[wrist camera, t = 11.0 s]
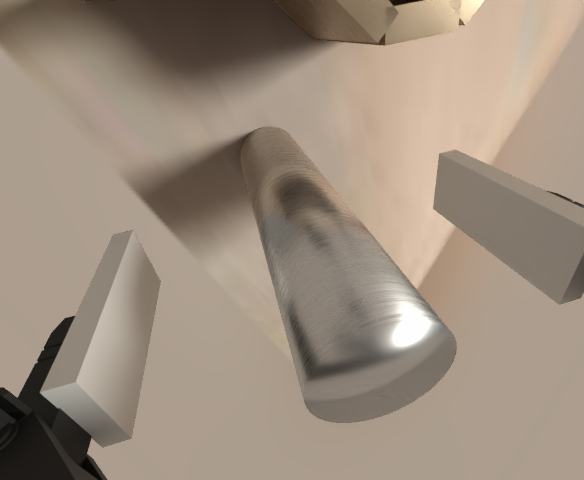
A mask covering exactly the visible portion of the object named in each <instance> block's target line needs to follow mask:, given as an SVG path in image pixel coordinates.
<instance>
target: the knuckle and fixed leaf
mask: <svg viewBox="0 0 584 480" xmlns="http://www.w3.org/2000/svg"><path fill="white" fill-rule="evenodd" d="M81 1H89V0H81ZM272 1H273V2H274V3H275V4H276V5H277V6H278V7H279V8H280V9H281V10H283V11H284V12H285V13H286V14H287V15H288V16H289V17H290V18H291V19H292V20H293V21H295V22H296V23H297V24H298V25H299V26H300V27H301V28H302V29H303V30H304V31H306V32H307V33H308V34H309V35H310V36H311V37H312V38H315V39H318V40H326V41H338V42H349V43H361V44H373V45H390V44H395V43H400V42H404V41H409V40H414V39H419V38H424V37H428V36H433V35H438V34H443V33H448V32H452V31H457V30H458V25H466V24H467V22H468V21H469V20H470V18H471V17H472V16H473V14H474V13H475V12H476V11H477V9H478V8H479V7H480V5H481V4H482V3H483V2H484V0H272Z"/></svg>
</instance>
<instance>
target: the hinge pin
mask: <svg viewBox="0 0 584 480" xmlns="http://www.w3.org/2000/svg"><path fill="white" fill-rule="evenodd" d="M240 163H241V167H242V171H243V175H244V178H245V182H246V186H247V189H248V193H249V197H250V201H251V204H252V208H253V212H254V216H255V219H256V223H257V227H258V231H259V234H260V238H261V242H262V245H263V249H264V253H265V257H266V260H267V264H268V268H269V272H270V275H271V279H272V283H273V287H274V290H275V294H276V298H277V301H278V305H279V309H280V313H281V316H282V320H283V324H284V328H285V331H286V335H287V339H288V342H289V346H290V350H291V354H292V357H293V361H294V365H295V369H296V372H297V376H298V380H299V384H300V387H301V391H302V395H303V398H304V402H305V405H306V407H307V409H308V410H309V411H310V412H311V413H312V414H313V415H314V416H316V417H318V418H319V419H322V420H325V421H329V422H336V423H352V422H360V421H365V420H370V419H374V418H377V417H381V416H383V415H386V414H389V413H391V412H393V411H396V410H398V409H400V408H402V407H404V406H406V405H408V404H410V403H412V402H413V401H415V400H416V399H418V398H419V397H421V396H422V395H424V394H425V393H426V392H428V391H429V390H430V389H431V388H432V387H434V386H435V385H436V384H437V383H438V382H439V381H440V380H441V379H442V378H443V376H444V375H445V374H446V373H447V371H448V369H449V368H450V367H451V365H452V363H453V361H454V358H455V355H456V349H457V346H456V340H455V337H454V335H453V334H452V332H451V331H450V330H449V329H448V327H447V326H446V325H445V324H444V323H443V321H442V320H441V319H440V318H439V316H438V315H437V314H436V313H435V312H434V310H433V309H432V308H431V307H430V305H429V304H428V303H427V302H426V300H425V299H424V298H423V297H422V296H421V294H420V293H419V292H418V291H417V289H416V288H415V287H414V286H413V285H412V283H411V282H410V281H409V280H408V278H407V277H406V276H405V275H404V274H403V272H402V271H401V270H400V269H399V267H398V266H397V265H396V264H395V262H394V261H393V260H392V259H391V258H390V256H389V255H388V254H387V253H386V251H385V250H384V249H383V248H382V247H381V245H380V244H379V243H378V242H377V240H376V239H375V238H374V237H373V236H372V234H371V233H370V232H369V231H368V229H367V228H366V227H365V226H364V224H363V223H362V222H361V221H360V220H359V218H358V217H357V216H356V215H355V213H354V212H353V211H352V210H351V209H350V207H349V206H348V205H347V204H346V202H345V201H344V200H343V199H342V198H341V196H340V195H339V194H338V193H337V191H336V190H335V189H334V188H333V187H332V185H331V184H330V183H329V182H328V180H327V179H326V178H325V177H324V175H323V174H322V173H321V172H320V171H319V169H318V168H317V167H316V166H315V164H314V163H313V162H312V161H311V160H310V158H309V157H308V156H307V155H306V153H305V152H304V151H303V150H302V149H301V147H300V146H299V145H298V144H297V142H296V141H295V140H294V139H293V138H292V136H291V135H290V134H289V133H287V132H286V131H284V130H283V129H280V128H277V127H263V128H259V129H257V130H255V131H254V132H252V133H251V134H250V135H249V136H248V137H247V138H246V139H245V141H244V142H243V144H242V147H241V150H240Z"/></svg>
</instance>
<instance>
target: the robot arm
mask: <svg viewBox="0 0 584 480" xmlns="http://www.w3.org/2000/svg"><path fill="white" fill-rule="evenodd" d="M433 209H434V210H435V211H437V212H438V213H439V214H441V215H442V216H443V217H445V218H446V219H447V220H449V221H450V222H451V223H453V224H454V225H455V226H456V227H458V228H459V229H461V230H462V231H463V232H464V233H466V234H467V235H468V236H470V237H471V238H472V239H474V240H475V241H476V242H478V243H479V244H480V245H482V246H483V247H484V248H485V249H487V250H488V251H490V252H491V253H492V254H493V255H495V256H496V257H497V258H499V259H500V260H501V261H502V262H504V263H505V264H506V265H508V266H509V267H510V268H512V269H513V270H514V271H516V272H517V273H518V274H520V275H521V276H522V277H523V278H525V279H526V280H528V281H529V282H530V283H531V284H533V285H534V286H535V287H537V288H538V289H539V290H541V291H542V292H543V293H545V294H546V295H547V296H548V297H550V298H551V299H553V300H554V301H555V302H556V303H558V304H563V303H566V302H570V301H573V300H576V299H579V298H581V297H582V295H583V293H584V205H582V204H580V203H578V202H573V201H572V200H571V199H568V198H566V197H564V196H562V195H559V194H557V193H553V192H549V191H545V190H543V189H541V188H538V187H536V186H534V185H532V184H530V183H527V182H525V181H523V180H521V179H519V178H516V177H514V176H512V175H510V174H508V173H505V172H503V171H501V170H499V169H497V168H495V167H492V166H490V165H488V164H486V163H484V162H481V161H479V160H477V159H475V158H473V157H470V156H468V155H466V154H464V153H462V152H459V151H457V150H452V151H448V152H444V153H440V154H439V161H438V170H437V179H436V187H435V196H434V205H433ZM160 282H161V281H160V280H159V277H158V276H157V274H156V272H155V270H154V268H153V266H152V264H151V263H150V261H149V259H148V257H147V255H146V253H145V251H144V250H143V248H142V246H141V244H140V242H139V240H138V238H137V237H136V235H135V233H134V231H133V230H131V231H127V232H123V233H119V234H115V235H113V237H112V239H111V241H110V243H109V245H108V247H107V249H106V251H105V254H104V256H103V258H102V260H101V262H100V264H99V267H98V269H97V271H96V273H95V275H94V277H93V279H92V281H91V284H90V286H89V288H88V290H87V292H86V294H85V296H84V298H83V301H82V303H81V305H80V307H79V309H78V311H77V314H76V316H72V317H69V318H65V319H64V320H63V321H62V322H61V323H60V324H59V325H58V326H57V328H56V329H55V330H54V331H53V332H52V333H51V335H50V337H49V339H48V341H47V342H46V344H45V346H44V350H43V351H42V352H41V354H40V356H39V358H38V360H37V361H38V363H36V364H35V365H34V367H33V370H32V371H31V373H30V375H29V377H28V379H27V381H26V383H25V385H24V387H23V388H22V391H21V392H20V395H19V396H18V398H17V397H15V396H14V395H13V394H12V393H10V392H9V391H8V390H6V389H5V388H0V480H107V479H106V477H105V476H104V474H103V473H102V471H101V470H100V468H99V467H98V465H97V464H96V463H95V461H94V460H93V459H92V458H91V457H90V456H89V455H88V454H87V451H88V448H89V444H90V441H91V438H92V439H93V440H95V441H96V442H97V443H98V444H99V445H100V446H101V447H106V446H109V445H112V444H115V443H119V442H122V441H125V440H128V439H131V438H132V434H133V428H134V423H135V418H136V411H137V406H138V401H139V396H140V390H141V385H142V380H143V374H144V369H145V363H146V358H147V352H148V347H149V342H150V336H151V331H152V325H153V320H154V315H155V309H156V304H157V298H158V292H159V287H160Z"/></svg>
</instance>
